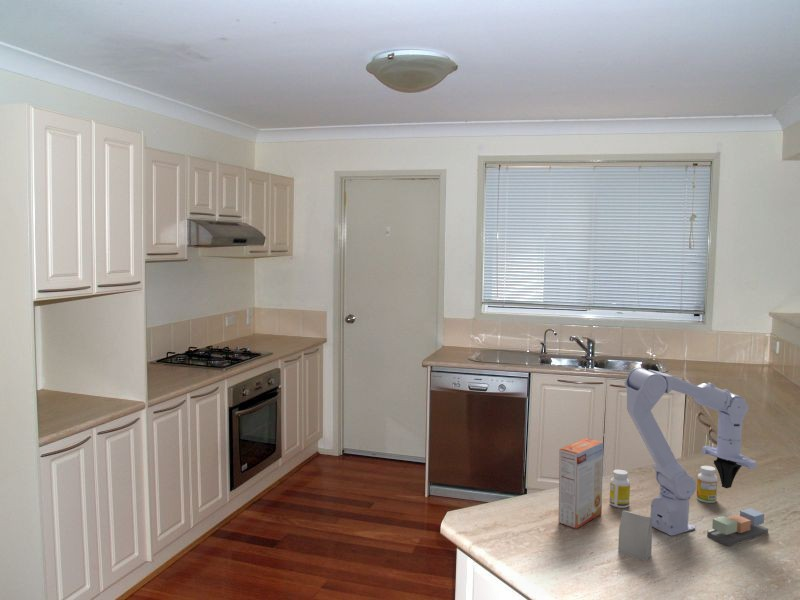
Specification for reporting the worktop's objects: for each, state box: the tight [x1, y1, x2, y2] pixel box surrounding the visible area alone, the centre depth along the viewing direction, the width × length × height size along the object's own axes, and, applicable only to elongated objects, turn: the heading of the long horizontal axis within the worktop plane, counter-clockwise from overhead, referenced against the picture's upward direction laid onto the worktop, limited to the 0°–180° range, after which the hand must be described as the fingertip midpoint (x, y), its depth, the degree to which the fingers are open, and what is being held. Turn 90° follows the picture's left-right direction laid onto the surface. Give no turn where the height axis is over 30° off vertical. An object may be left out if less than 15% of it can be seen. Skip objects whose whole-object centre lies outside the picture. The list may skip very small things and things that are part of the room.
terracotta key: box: [726, 514, 751, 533], centre depth 167 cm, size 4×4×3 cm
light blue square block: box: [739, 507, 765, 526], centre depth 170 cm, size 4×4×3 cm
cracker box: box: [558, 437, 604, 530], centre depth 175 cm, size 14×6×21 cm, turn 135°
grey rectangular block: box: [617, 509, 653, 562], centre depth 157 cm, size 4×7×10 cm, turn 51°
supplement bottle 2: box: [696, 465, 719, 504], centre depth 190 cm, size 5×5×10 cm
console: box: [706, 524, 769, 547], centre depth 167 cm, size 16×6×2 cm, turn 118°
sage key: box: [711, 515, 737, 535], centre depth 164 cm, size 4×4×3 cm
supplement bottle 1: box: [609, 469, 631, 509], centre depth 186 cm, size 5×5×10 cm
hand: (726, 487), depth 173 cm, fingers closed
